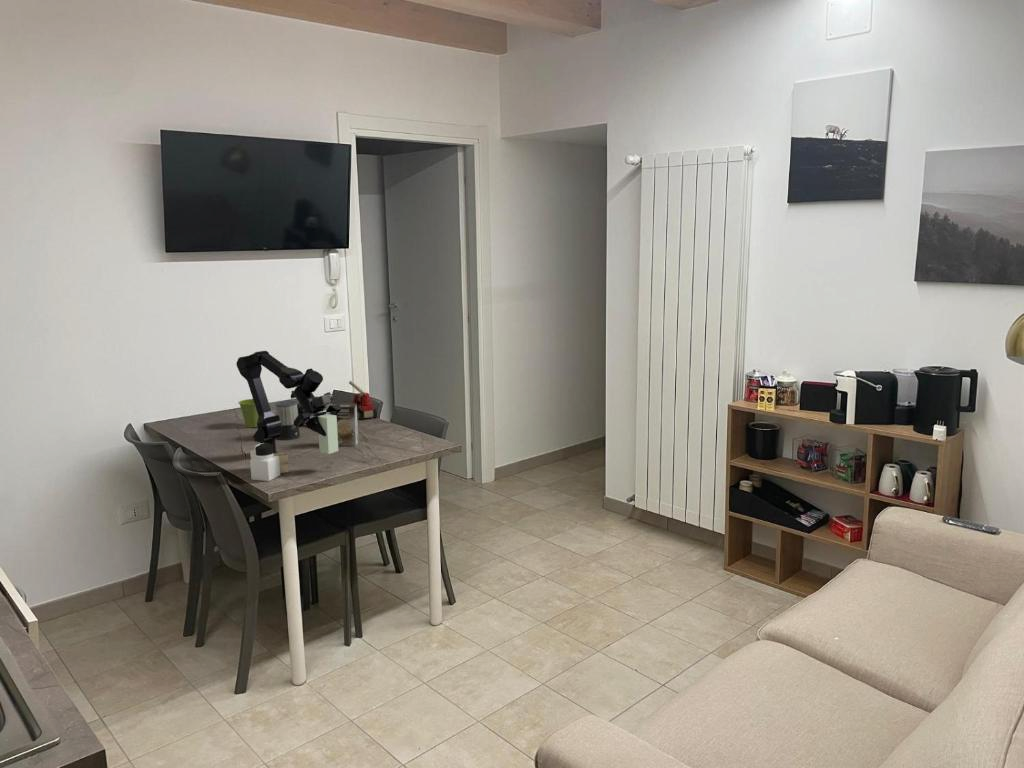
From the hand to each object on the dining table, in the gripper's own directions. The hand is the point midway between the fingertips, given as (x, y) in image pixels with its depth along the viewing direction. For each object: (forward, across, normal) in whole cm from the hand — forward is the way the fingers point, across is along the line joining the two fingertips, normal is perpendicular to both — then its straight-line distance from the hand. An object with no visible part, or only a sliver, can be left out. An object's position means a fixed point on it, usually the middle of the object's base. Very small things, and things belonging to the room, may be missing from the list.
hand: (330, 434), depth 271 cm
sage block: (+4, 0, +6) cm, 7 cm away
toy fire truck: (-25, +65, +44) cm, 82 cm away
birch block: (-2, -11, +20) cm, 23 cm away
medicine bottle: (0, -18, +19) cm, 27 cm away
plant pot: (-45, +27, +64) cm, 83 cm away
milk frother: (-28, +23, +47) cm, 60 cm away
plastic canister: (-7, -13, +26) cm, 30 cm away
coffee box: (-5, +27, +24) cm, 37 cm away
